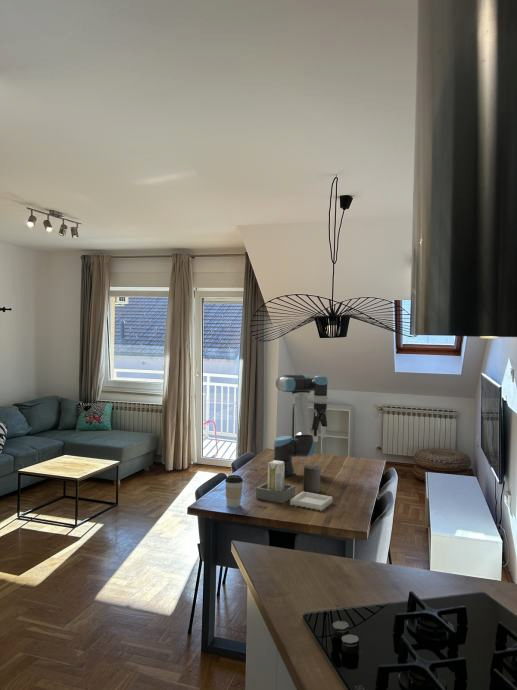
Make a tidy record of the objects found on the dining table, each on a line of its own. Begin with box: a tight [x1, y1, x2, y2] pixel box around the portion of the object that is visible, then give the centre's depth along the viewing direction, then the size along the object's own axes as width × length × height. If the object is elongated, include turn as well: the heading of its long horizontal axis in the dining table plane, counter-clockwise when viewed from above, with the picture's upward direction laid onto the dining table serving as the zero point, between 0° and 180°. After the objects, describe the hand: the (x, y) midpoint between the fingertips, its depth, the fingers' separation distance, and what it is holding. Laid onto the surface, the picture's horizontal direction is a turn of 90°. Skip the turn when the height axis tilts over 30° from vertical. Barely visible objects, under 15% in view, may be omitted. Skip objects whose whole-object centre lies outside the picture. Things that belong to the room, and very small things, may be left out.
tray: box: [289, 491, 333, 512], centre depth 255 cm, size 17×16×3 cm
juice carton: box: [267, 459, 285, 492], centre depth 265 cm, size 8×9×19 cm
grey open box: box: [255, 481, 296, 504], centre depth 265 cm, size 16×15×6 cm
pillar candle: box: [302, 463, 322, 494], centre depth 279 cm, size 10×10×15 cm
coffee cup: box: [224, 474, 244, 508], centre depth 250 cm, size 9×9×15 cm
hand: (319, 439), depth 282 cm, fingers open, 13 cm apart
